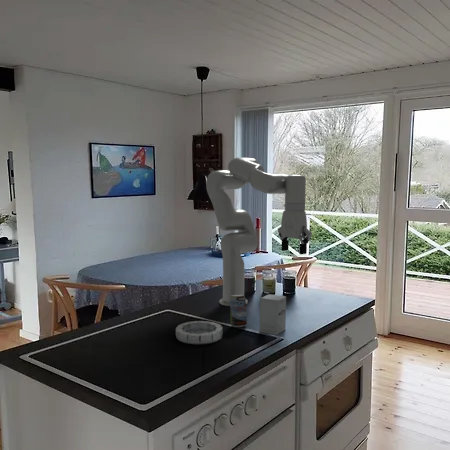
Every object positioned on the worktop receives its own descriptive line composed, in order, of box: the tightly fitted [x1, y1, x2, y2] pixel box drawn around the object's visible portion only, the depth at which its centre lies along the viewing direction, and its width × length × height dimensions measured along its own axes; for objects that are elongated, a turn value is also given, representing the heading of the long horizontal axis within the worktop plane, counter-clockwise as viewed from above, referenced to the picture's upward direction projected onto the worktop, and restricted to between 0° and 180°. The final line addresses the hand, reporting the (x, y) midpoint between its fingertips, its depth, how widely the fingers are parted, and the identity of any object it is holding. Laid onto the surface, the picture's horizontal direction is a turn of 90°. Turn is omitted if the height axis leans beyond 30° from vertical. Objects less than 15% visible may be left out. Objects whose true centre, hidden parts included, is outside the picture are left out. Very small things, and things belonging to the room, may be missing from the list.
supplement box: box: [259, 294, 287, 336], centre depth 166 cm, size 7×7×13 cm
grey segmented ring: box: [175, 320, 224, 345], centre depth 160 cm, size 16×16×3 cm
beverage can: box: [229, 294, 248, 328], centre depth 171 cm, size 6×7×12 cm
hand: (293, 252), depth 175 cm, fingers open, 9 cm apart
